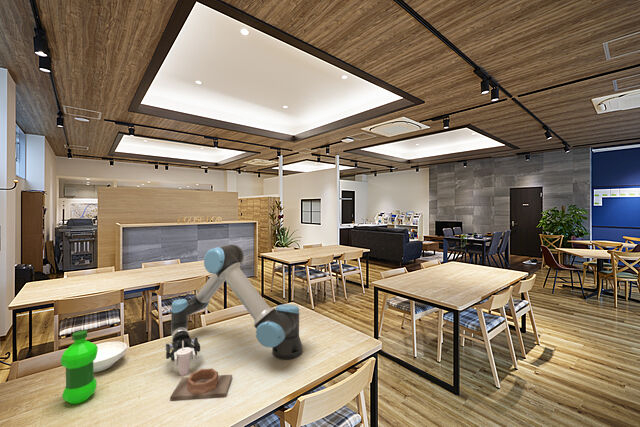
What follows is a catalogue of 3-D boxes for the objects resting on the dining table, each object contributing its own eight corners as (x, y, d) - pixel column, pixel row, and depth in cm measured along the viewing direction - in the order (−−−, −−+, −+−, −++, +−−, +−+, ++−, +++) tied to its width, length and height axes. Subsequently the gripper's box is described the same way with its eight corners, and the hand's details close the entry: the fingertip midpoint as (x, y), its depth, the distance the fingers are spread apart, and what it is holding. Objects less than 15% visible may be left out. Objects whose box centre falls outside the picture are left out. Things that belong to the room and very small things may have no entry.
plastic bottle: (73, 412, 98) (73, 341, 97) (55, 404, 101) (54, 336, 101) (104, 394, 107) (103, 329, 107) (86, 388, 111) (86, 325, 110)
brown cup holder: (232, 378, 118) (232, 366, 118) (225, 397, 106) (225, 383, 106) (182, 381, 116) (182, 369, 115) (170, 400, 104) (170, 387, 104)
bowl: (64, 385, 112) (64, 368, 112) (79, 362, 130) (78, 346, 130) (123, 372, 121) (123, 356, 121) (129, 352, 139) (129, 338, 139)
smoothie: (179, 369, 124) (179, 337, 124) (194, 368, 125) (194, 337, 125) (173, 377, 118) (173, 344, 118) (189, 376, 119) (189, 344, 118)
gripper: (202, 341, 142) (209, 362, 122) (158, 350, 132) (158, 375, 112) (202, 326, 142) (209, 345, 122) (158, 335, 132) (158, 357, 112)
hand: (185, 360), depth 117 cm, fingers closed on smoothie, 6 cm apart
